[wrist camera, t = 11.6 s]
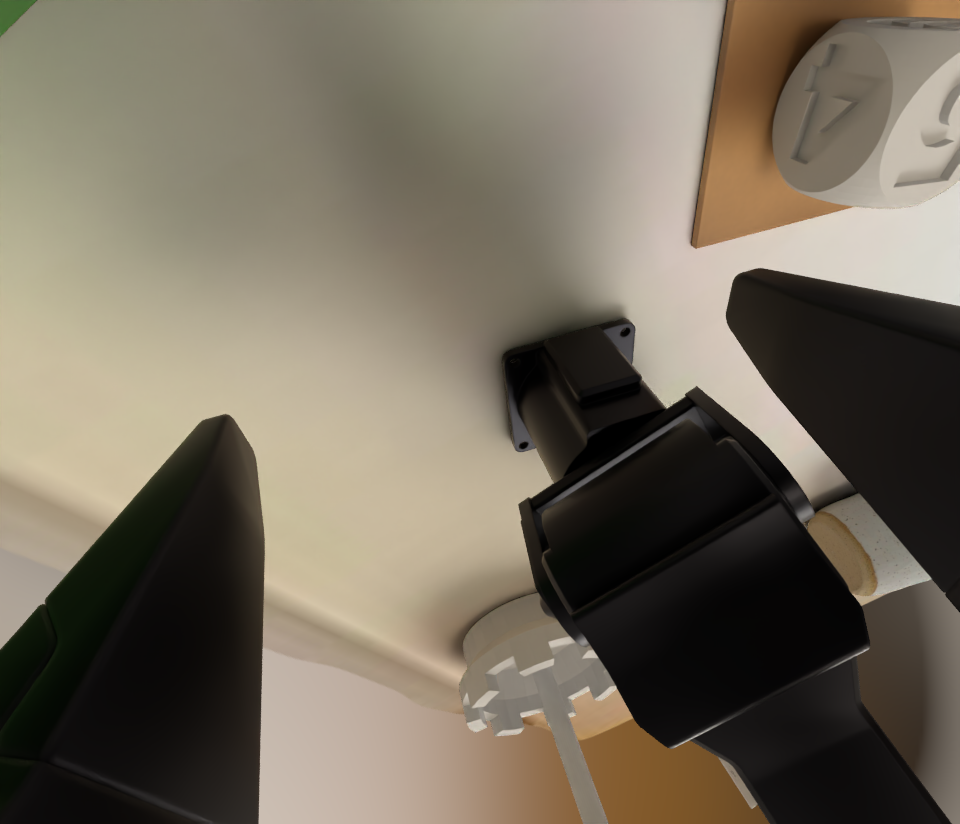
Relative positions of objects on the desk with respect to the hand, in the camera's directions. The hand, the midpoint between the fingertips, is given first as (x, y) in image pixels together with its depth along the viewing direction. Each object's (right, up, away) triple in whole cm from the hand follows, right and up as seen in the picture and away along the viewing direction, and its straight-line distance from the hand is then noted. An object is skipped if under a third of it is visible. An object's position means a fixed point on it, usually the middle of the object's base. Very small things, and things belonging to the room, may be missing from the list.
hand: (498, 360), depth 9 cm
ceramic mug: (+31, -9, +36) cm, 48 cm away
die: (+13, +11, +11) cm, 21 cm away
